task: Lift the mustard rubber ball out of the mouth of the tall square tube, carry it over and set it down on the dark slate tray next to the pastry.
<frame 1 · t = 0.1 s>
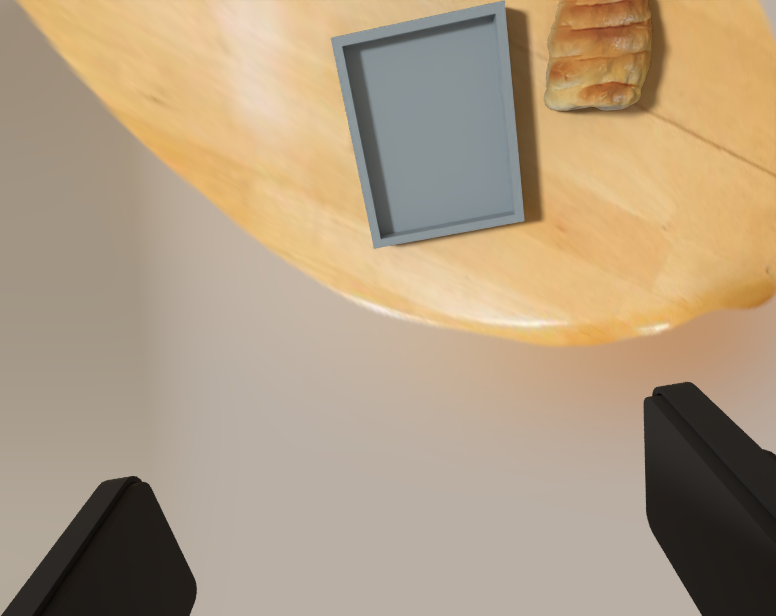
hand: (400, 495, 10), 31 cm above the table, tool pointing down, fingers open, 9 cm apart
tray: (431, 133, 37), on the table
pastry: (587, 49, 35), on the table
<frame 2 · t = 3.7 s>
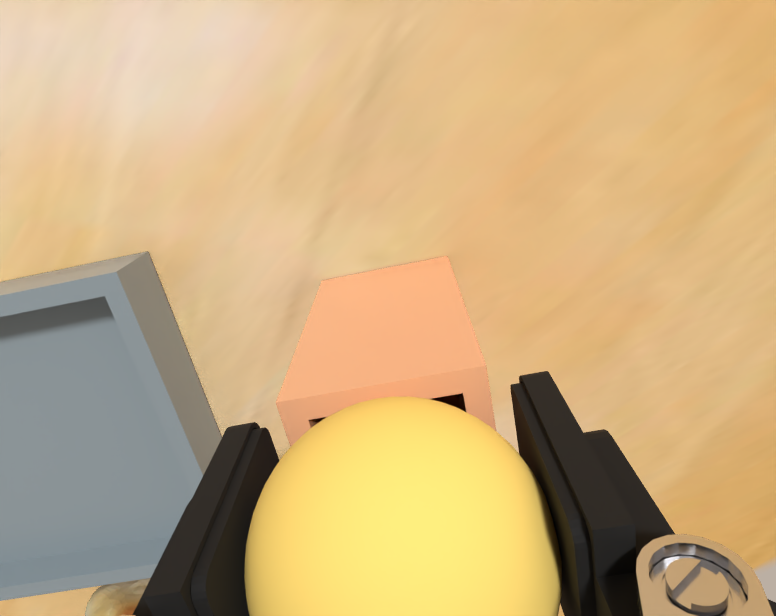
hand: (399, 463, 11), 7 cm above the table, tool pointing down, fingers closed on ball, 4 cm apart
square tube: (396, 325, 17), on the table
tray: (21, 434, 19), on the table
ball: (401, 550, 9), point 9 cm above the table, touching square tube, gripper
pastry: (207, 608, 23), on the table
when the fingers open (2 cm above the table, at t = 9.8 s): ball drops 1 cm, resting on tray.
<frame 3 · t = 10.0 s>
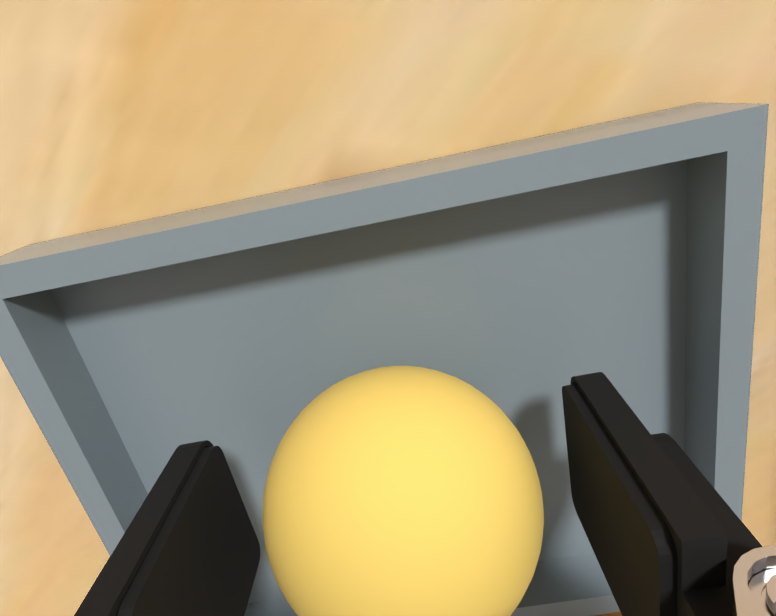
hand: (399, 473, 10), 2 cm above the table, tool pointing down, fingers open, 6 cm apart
tray: (397, 403, 13), on the table
ball: (402, 502, 10), point 3 cm above the table, touching tray
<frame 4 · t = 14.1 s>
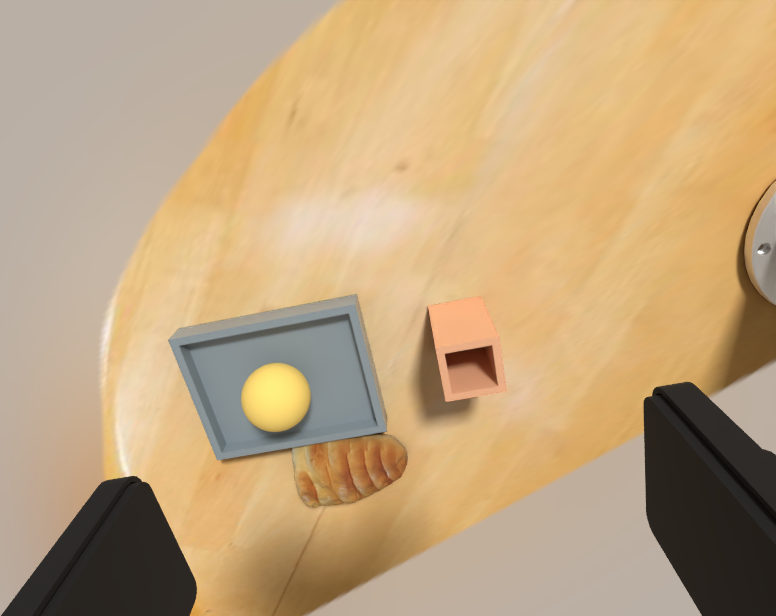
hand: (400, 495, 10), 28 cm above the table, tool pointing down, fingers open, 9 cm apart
square tube: (458, 325, 39), on the table
tray: (286, 374, 41), on the table
ball: (276, 397, 38), point 3 cm above the table, touching tray
pastry: (344, 452, 44), on the table
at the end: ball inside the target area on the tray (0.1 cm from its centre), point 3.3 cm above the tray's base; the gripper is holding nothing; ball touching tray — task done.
